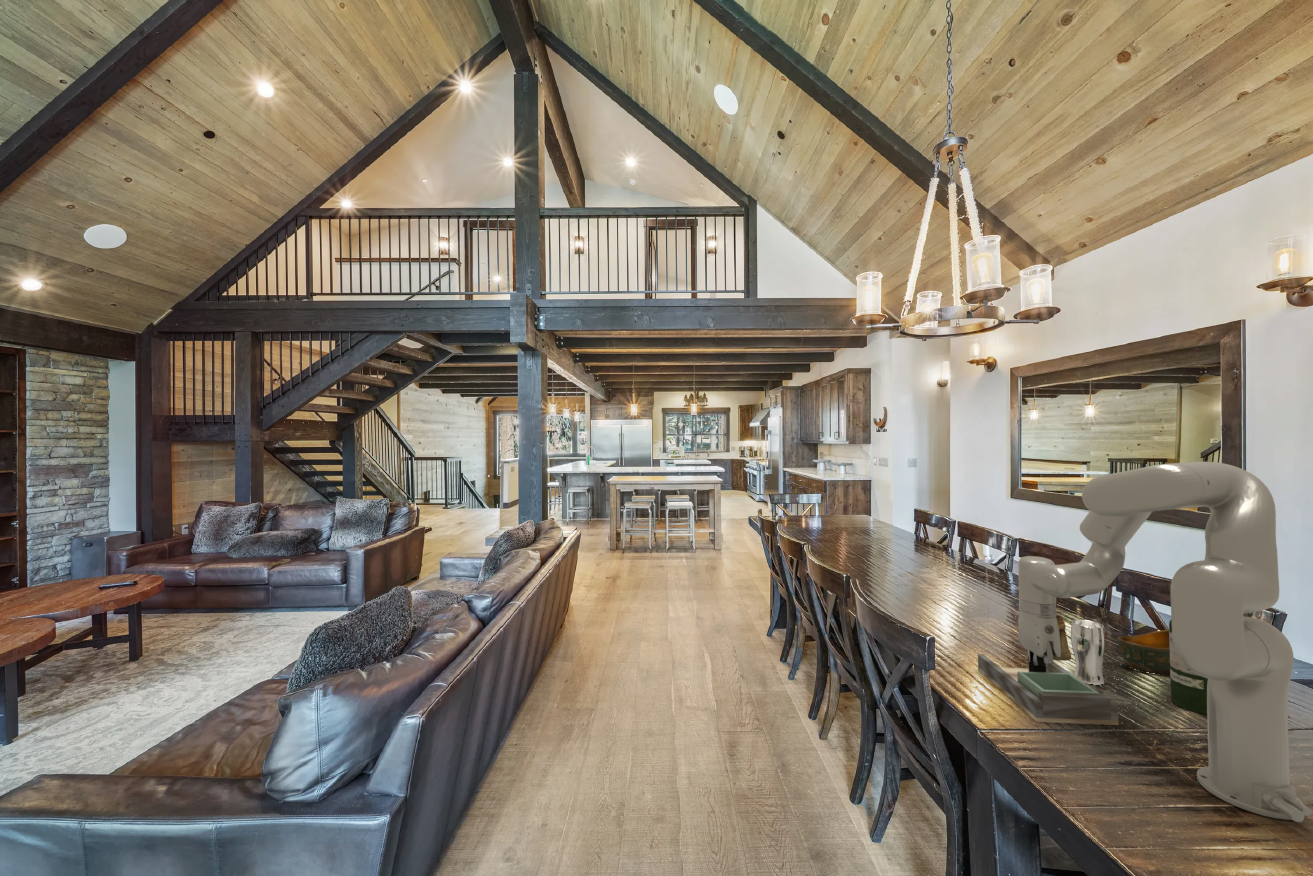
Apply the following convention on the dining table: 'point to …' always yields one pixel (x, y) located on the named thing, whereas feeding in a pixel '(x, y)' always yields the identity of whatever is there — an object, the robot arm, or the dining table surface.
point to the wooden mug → (1062, 638)
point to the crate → (1053, 683)
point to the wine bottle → (1186, 683)
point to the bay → (1051, 698)
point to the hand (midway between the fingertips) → (1037, 678)
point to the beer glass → (1088, 650)
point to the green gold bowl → (1147, 652)
